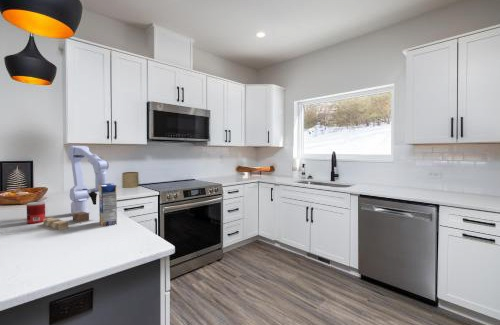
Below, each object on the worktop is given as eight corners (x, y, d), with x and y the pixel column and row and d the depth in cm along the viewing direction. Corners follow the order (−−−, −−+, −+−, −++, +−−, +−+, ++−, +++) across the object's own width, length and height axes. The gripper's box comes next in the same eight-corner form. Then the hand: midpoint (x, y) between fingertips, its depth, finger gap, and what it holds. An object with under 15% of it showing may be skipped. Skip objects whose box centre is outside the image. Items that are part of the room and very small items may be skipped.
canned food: (48, 220, 143) (48, 201, 143) (35, 224, 136) (35, 204, 135) (37, 219, 144) (36, 201, 144) (23, 223, 136) (22, 204, 136)
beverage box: (102, 226, 133) (102, 186, 132) (99, 221, 142) (99, 184, 141) (116, 224, 137) (116, 185, 136) (112, 220, 146) (112, 183, 145)
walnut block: (72, 220, 144) (72, 213, 144) (81, 218, 149) (81, 211, 148) (79, 222, 140) (79, 214, 140) (89, 220, 145) (88, 213, 144)
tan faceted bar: (43, 224, 135) (43, 219, 135) (52, 222, 139) (52, 217, 139) (59, 229, 127) (59, 224, 126) (68, 227, 130) (68, 222, 130)
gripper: (91, 182, 138) (92, 206, 139) (116, 180, 151) (116, 202, 151) (85, 181, 141) (85, 204, 142) (110, 179, 154) (110, 200, 155)
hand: (101, 203), depth 147 cm, fingers open, 7 cm apart
